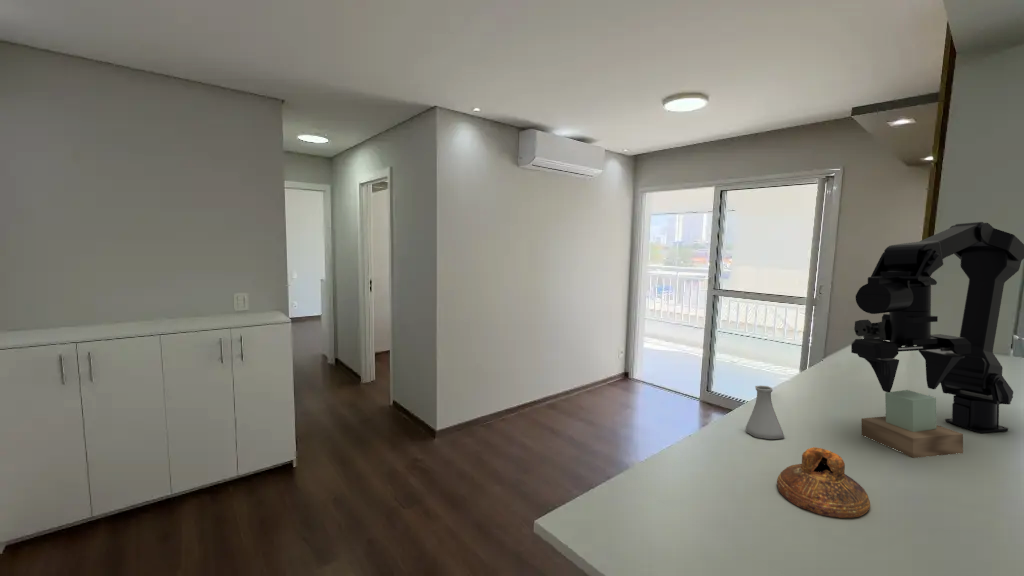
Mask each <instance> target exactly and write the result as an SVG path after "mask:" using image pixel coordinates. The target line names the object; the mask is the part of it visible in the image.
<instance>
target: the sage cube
mask: <svg viewBox="0 0 1024 576" xmlns="http://www.w3.org/2000/svg"><path fill="white" fill-rule="evenodd" d="M884 395H885V416H886V422H887V423H890V424H893V425H895V426H898V427H901V428H904V429H906V430H909V431H912V432H917V431H924V430H931V429H937V428H936V425H937V397H934V396H931V395H927V394H924V393H919V392H916V391H914V390H910V389H905V390H897V391H890V392H884Z"/></svg>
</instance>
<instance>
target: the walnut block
mask: <svg viewBox="0 0 1024 576" xmlns="http://www.w3.org/2000/svg"><path fill="white" fill-rule="evenodd" d="M936 428H937V429H931V430H924V431H917V432H912V431H909V430H906V429H904V428H901V427H898V426H895V425H893V424H890V423H887V422H886V415H884V416H874V417H864V418H863V417H862V418H861V436H862V435H863V436H862V437H864V436H866V437H868V438H870V439H869V440H871V439H873V440H875V441H877V442H876V443H878V442H879V443H878V444H880V443H882V444H884V445H886V446H885V447H887V446H889V447H891V448H894V449H896V450H898V451H901V452H903V453H904V454H903V453H902V454H903V455H905V454H906V455H905V456H907V455H908V457H909V458H913V459H916V458H917V459H919V458H927V457H926V456H929V457H936V456H937V455H939V456H949V455H948V454H950V455H957V454H958V453H960V454H963V453H964V433H961V432H958V431H956V430H953V429H950V428H947V427H943V426H941V425H939V424H936ZM866 437H865V438H866ZM868 438H867V439H868ZM873 440H872V441H873ZM875 441H874V442H875ZM882 444H881V445H882ZM884 445H883V446H884ZM889 447H888V448H889ZM891 448H890V449H891ZM894 449H893V450H894ZM896 450H895V451H896ZM898 451H897V452H898ZM956 453H957V454H956ZM958 455H959V454H958ZM918 457H919V458H918ZM937 457H938V456H937Z"/></svg>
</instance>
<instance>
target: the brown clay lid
mask: <svg viewBox="0 0 1024 576" xmlns="http://www.w3.org/2000/svg"><path fill="white" fill-rule="evenodd" d="M845 468H846V465H845V461H844V459H843V458H842V457H841V456H840V455H839V454H837V453H835V452H833V451H831V450H828V449H825V448H821V447H816V446H815V447H810V448H807V449H806V450H805V451H803V452H802V454H801V463H796V464H792V465H789V466H787V467H786V468H784V469H783V470H782V471H780V474H778V477H777V479H776V485H777V489H778V491H779V493H780V494H781V495H782V496H783V497H784V498H785V499H786V500H788V502H791V503H792V504H793V505H795V506H797V507H798V508H801V509H802V510H808V511H811V512H812V513H814V514H817V515H821V516H826V517H831V518H839V519H849V518H857V517H862V516H863V515H865V514H866V513H867V512H868V511H869V510H870V509H871V500H870V497H869V495H868V493H867V492H866V490H865V489H864V488H863V486H861V484H860V483H858V482H857V481H856V480H855V479H854V478H853V477H850V476H849V475H848V474H846V473H845Z"/></svg>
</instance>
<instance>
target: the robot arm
mask: <svg viewBox="0 0 1024 576" xmlns="http://www.w3.org/2000/svg"><path fill="white" fill-rule="evenodd" d="M951 255H954V256H956V257H957V258H958V259H960V268H961V270H962V271H963V273H964V274H965V275H966V277H967V278H968V285H967V289H966V291H967V292H966V297H965V303H964V308H963V314H962V321H961V327H960V332H959V336H954V335H949V334H948V335H947V334H941V333H939V334H938V333H937V334H931V333H932V332H931V330H932V329H931V328H932V323H937V322H938V317H939V316H938V315H932V286H936V285H937V283H938V282H937V280H936V279H935V278H933V277H932V275H933V274H934V272H936V271H937V270H939V269H940V268H942V266H944V259H945V258H948V257H950V256H951ZM1023 260H1024V243H1023V242H1022V241H1021V240H1020V239H1019V238H1018V237H1017V236H1016V235H1015V234H1012V233H1010V232H1007V231H1004V230H1000V229H997V228H994V227H993V226H992V225H991V224H990V223H988V222H983V221H976V222H965V223H962V222H961V223H956V224H954V225H951V226H950V227H949V228H948V229H945V230H942V231H940V232H938V233H935V234H933V235H931V236H929V237H926V238H925V239H922V240H920V241H914V242H912V241H911V242H906V243H905V242H904V243H897V244H891V245H889V246H887V247H886V248H884V251H883V252H882V254H881V255H880V258H879V259H878V262H877V263H876V265H875V267H874V269H873V271H872V273H871V275H870V276H869V277H867V283H866V284H864V285H862V286H860V288H859V289H858V290H857V292H856V294H855V302H856V304H857V306H858V308H859V309H860V310H861V311H863V312H865V313H867V314H869V315H870V314H871V315H877V314H878V315H879V314H883V315H882V316H881V321H878V322H871V320H870V319H860V320H855V321H854V327H853V328H854V329H853V330H854V332H855V335H856V336H857V337H863V338H856V339H854V340H853V341H852V342H851V346H850V347H851V353H852V354H855V355H857V356H858V357H859V358H861V359H864V360H865V361H867V362H868V363H869V365H870V366H871V368H872V369H873V371H874V373H875V377H876V378H877V380H878V383H879V384H880V388H881V389H882V391H883V392H884V393H886V392H892V391H891V390H892V389H893V385H894V381H895V379H896V374H897V371H898V368H899V364H900V359H897V358H896V357H897V356H898V354H899V353H900V352H913V351H914V352H915V351H918V352H919V353H920V354H921V356H922V357H923V359H924V360H925V363H924V364H925V376H926V378H925V379H926V384H927V388H928V389H930V390H936V389H937V388H938V386H939V385H941V391H942V393H943V394H946V395H947V394H948V395H953V401H952V402H953V403H952V405H951V408H952V410H951V412H952V413H951V416H952V417H951V418H945V419H944V421H945V422H947V423H949V424H953V425H955V426H958V427H961V428H965V429H967V430H970V431H972V432H976V433H980V434H983V433H997V432H1006V431H1009V427H1005V426H1003V425H1000V405H1011V402H1012V400H1013V398H1014V390H1013V389H1012V387H1011V386H1010V384H1009V383H1008V382H1007V380H1006V379H1005V378H1004V375H1003V365H1002V364H1001V362H1000V361H999V360H998V358H997V356H996V355H995V354H994V345H995V341H996V334H997V328H998V323H999V316H1000V311H1001V304H1002V300H1003V299H1002V298H1003V292H1004V287H1005V283H1006V282H1007V281H1008V280H1009V279H1011V278H1012V277H1014V275H1016V273H1017V272H1019V270H1020V268H1021V265H1022V261H1023Z"/></svg>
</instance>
